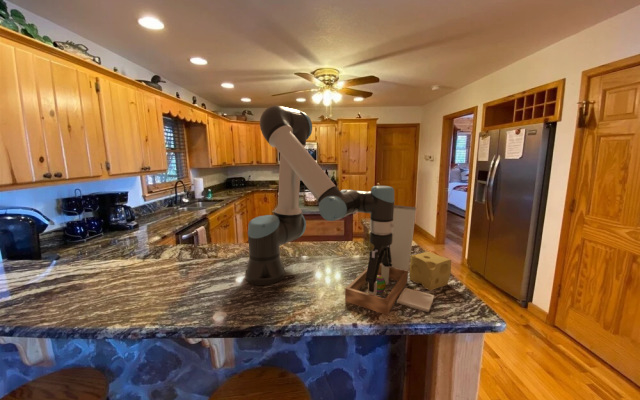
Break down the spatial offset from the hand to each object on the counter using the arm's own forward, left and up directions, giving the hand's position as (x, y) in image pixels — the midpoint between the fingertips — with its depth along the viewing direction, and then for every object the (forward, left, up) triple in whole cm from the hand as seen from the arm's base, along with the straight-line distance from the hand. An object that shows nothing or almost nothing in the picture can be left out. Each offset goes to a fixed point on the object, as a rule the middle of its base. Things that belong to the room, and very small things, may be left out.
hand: (378, 290), depth 91 cm
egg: (0, 0, 0) cm, 0 cm away
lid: (0, +15, +16) cm, 22 cm away
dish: (+12, +1, 0) cm, 12 cm away
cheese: (+13, +17, 0) cm, 22 cm away
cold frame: (0, +3, 0) cm, 3 cm away
